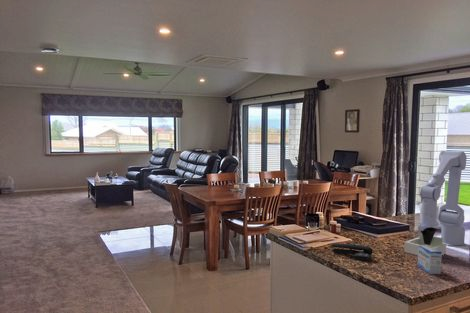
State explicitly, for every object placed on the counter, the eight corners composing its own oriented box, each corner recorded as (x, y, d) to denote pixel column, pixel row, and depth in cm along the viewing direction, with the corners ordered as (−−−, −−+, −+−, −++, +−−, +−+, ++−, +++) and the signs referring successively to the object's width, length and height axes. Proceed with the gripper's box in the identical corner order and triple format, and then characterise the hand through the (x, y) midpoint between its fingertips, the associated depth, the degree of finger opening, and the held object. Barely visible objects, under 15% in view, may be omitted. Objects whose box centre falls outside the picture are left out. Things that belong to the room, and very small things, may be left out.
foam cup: (438, 227, 201) (439, 204, 200) (437, 231, 194) (438, 207, 193) (419, 225, 206) (420, 202, 206) (417, 228, 199) (418, 205, 198)
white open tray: (417, 246, 166) (418, 237, 166) (445, 254, 157) (446, 243, 156) (404, 251, 159) (404, 241, 159) (432, 259, 150) (433, 249, 149)
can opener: (375, 258, 151) (375, 245, 150) (368, 263, 145) (369, 249, 145) (334, 249, 162) (335, 237, 162) (327, 253, 157) (328, 240, 156)
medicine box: (417, 266, 142) (418, 244, 141) (428, 266, 142) (429, 244, 141) (429, 274, 134) (430, 251, 133) (441, 274, 134) (442, 251, 134)
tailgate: (421, 243, 165) (421, 233, 165) (442, 249, 158) (443, 238, 157) (419, 244, 164) (419, 233, 164) (441, 249, 157) (441, 238, 156)
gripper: (427, 209, 165) (426, 239, 166) (411, 213, 157) (410, 244, 158) (443, 212, 160) (442, 243, 161) (428, 217, 151) (426, 249, 152)
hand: (427, 244), depth 159 cm, fingers closed
